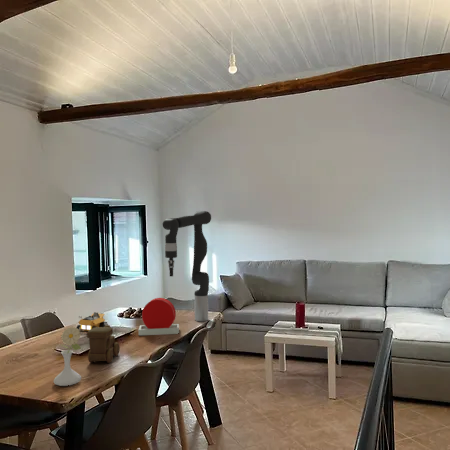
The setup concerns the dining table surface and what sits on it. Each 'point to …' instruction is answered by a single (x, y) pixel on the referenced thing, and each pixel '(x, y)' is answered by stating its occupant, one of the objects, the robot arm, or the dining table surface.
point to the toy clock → (158, 314)
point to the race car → (91, 322)
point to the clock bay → (159, 330)
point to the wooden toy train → (102, 344)
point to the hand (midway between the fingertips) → (171, 275)
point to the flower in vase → (68, 375)
